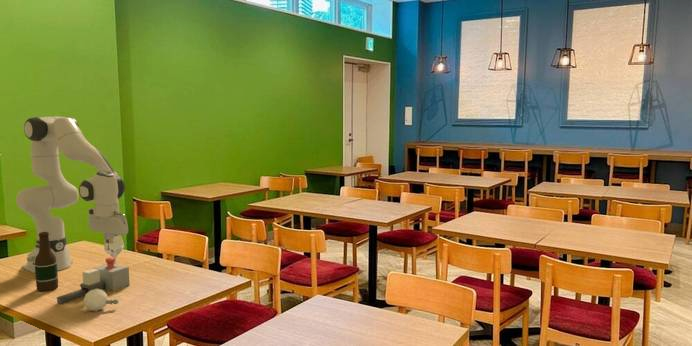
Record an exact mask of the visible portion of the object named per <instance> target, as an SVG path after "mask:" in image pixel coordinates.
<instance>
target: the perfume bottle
mask: <svg viewBox="0 0 692 346" xmlns="http://www.w3.org/2000/svg"><path fill="white" fill-rule="evenodd" d="M108 304H109V305H117V304H119V299H118V298H114V299H108V294H107V293H106V292H105V291H104V290H100V289H94V290H91V291H89V292H88V293H87V294H86V295H85V297H83V306H84V307H85V308H86V310H88V311H92V312H97V311H100V310H102V309H104V307H106V305H108Z"/></svg>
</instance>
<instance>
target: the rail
mask: <svg viewBox="0 0 692 346" xmlns="http://www.w3.org/2000/svg"><path fill="white" fill-rule="evenodd" d="M104 289H105V283H103V291H104ZM105 290H106V289H105ZM87 293H88V289H87V288H83V289H81V288H80V289H78V290H75V291H72V292H68V293H66V294H63V295H59V296H57V297H56V303H58V305H61V304H62V305H64V303H65V304H68V303H70V302H73V301H75V300H78V298H79V299H81V297H82V298H84V296H85V295H86V294H87Z"/></svg>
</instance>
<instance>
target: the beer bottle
mask: <svg viewBox="0 0 692 346" xmlns="http://www.w3.org/2000/svg"><path fill="white" fill-rule="evenodd" d="M48 235H49V233H48V232H41V233H39V235H38V236H39V253H38V255H37V256H36V259H35V273H34V274H35V287H36V291H38V292H39V293H48V292H49V293H50V292H53V291H56V290H57V289H58V288H59V275H58V271H57V260H56V257H55V255H54V253H53V252H52V251H51V249H50V243H49V236H48Z"/></svg>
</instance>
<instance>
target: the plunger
mask: <svg viewBox="0 0 692 346" xmlns="http://www.w3.org/2000/svg"><path fill="white" fill-rule="evenodd" d="M114 262H115V258H113V257H112V256H111V257H106V258H105V264H107V269H113V268H114Z"/></svg>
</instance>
